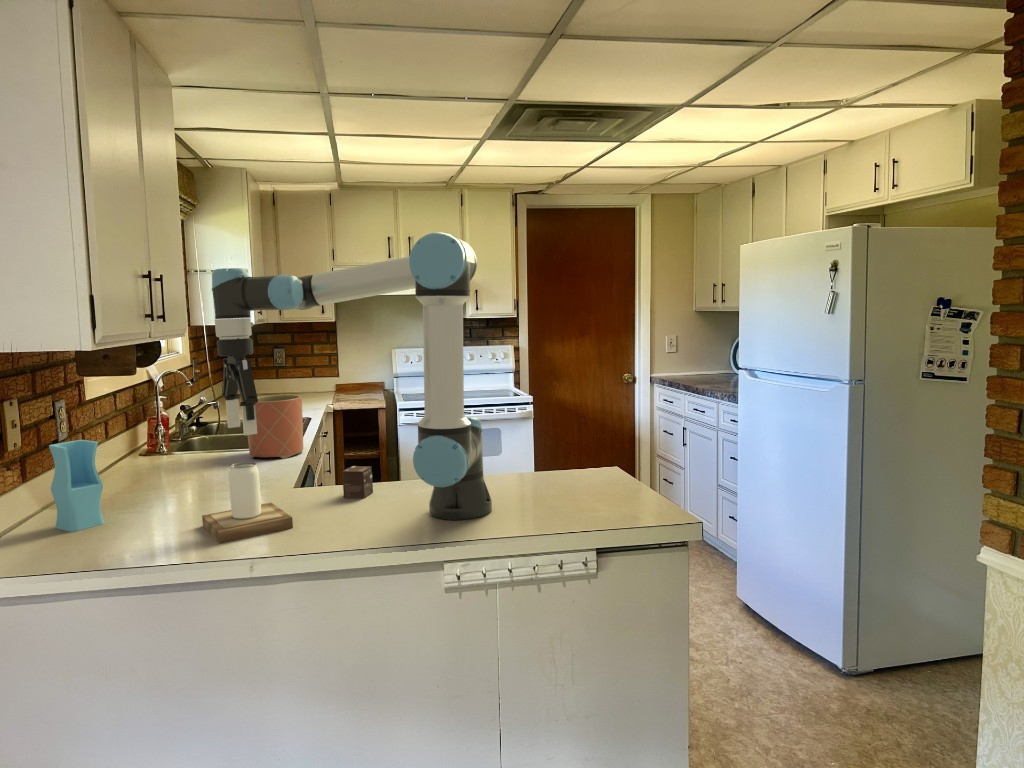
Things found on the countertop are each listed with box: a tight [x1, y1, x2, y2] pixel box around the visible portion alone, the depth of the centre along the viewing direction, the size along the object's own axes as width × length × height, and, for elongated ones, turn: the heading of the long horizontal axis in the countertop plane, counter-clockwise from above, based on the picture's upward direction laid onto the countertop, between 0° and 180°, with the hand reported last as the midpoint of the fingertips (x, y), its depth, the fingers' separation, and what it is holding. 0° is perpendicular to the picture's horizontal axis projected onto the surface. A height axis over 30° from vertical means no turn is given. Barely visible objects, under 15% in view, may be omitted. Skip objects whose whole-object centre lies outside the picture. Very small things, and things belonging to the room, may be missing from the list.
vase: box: [48, 439, 105, 533], centre depth 165 cm, size 8×8×20 cm
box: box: [341, 465, 374, 499], centre depth 185 cm, size 6×6×7 cm
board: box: [201, 502, 294, 544], centre depth 161 cm, size 16×16×3 cm
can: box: [228, 461, 262, 519], centre depth 160 cm, size 6×6×12 cm
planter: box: [247, 394, 304, 460], centre depth 241 cm, size 19×19×20 cm
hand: (242, 430), depth 159 cm, fingers open, 13 cm apart
